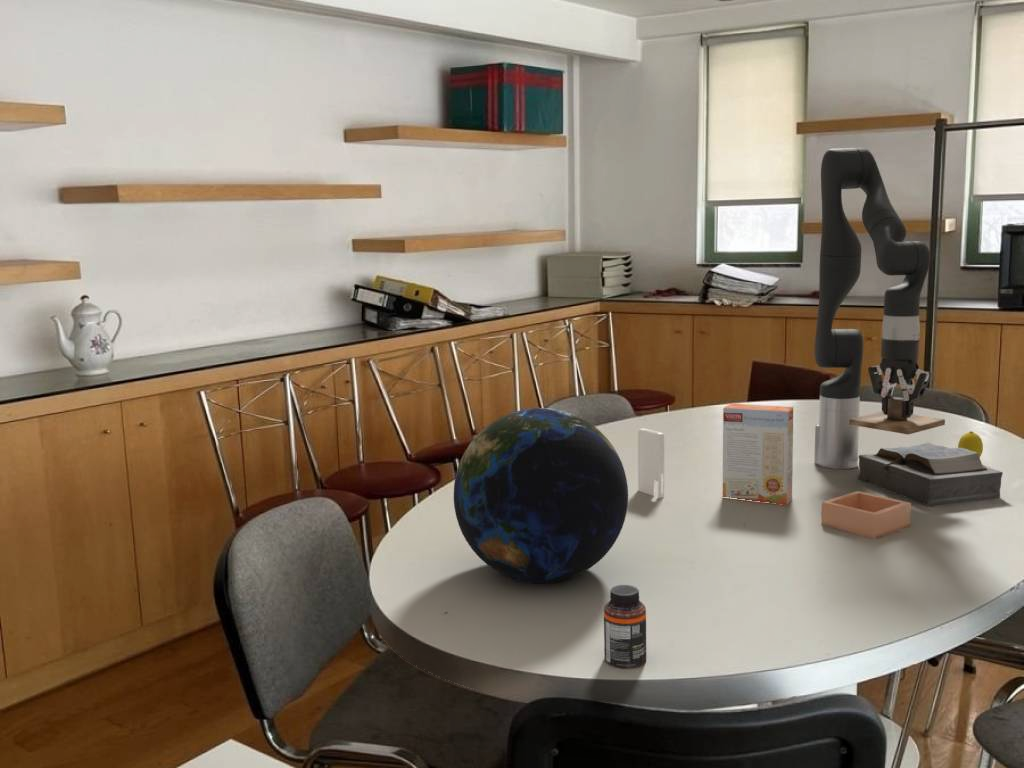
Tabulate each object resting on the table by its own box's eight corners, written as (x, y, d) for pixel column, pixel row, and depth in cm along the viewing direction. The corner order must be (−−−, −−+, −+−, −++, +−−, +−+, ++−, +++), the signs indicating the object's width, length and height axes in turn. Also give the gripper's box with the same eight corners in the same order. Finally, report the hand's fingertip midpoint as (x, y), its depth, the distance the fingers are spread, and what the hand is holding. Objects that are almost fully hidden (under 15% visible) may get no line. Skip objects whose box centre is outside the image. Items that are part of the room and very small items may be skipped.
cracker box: (792, 500, 227) (794, 405, 224) (786, 508, 222) (788, 411, 219) (728, 494, 234) (730, 401, 230) (721, 501, 228) (722, 406, 225)
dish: (821, 526, 209) (822, 502, 208) (856, 514, 217) (857, 490, 216) (874, 540, 200) (875, 515, 199) (909, 527, 207) (910, 502, 206)
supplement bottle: (617, 653, 153) (616, 578, 151) (654, 662, 149) (654, 586, 148) (596, 668, 148) (595, 591, 146) (634, 678, 145) (633, 600, 143)
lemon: (984, 466, 252) (986, 433, 251) (959, 465, 253) (961, 433, 252) (979, 461, 257) (980, 429, 256) (955, 460, 259) (956, 428, 257)
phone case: (637, 494, 235) (637, 428, 232) (642, 493, 236) (642, 427, 233) (659, 501, 229) (659, 434, 226) (664, 500, 230) (664, 433, 227)
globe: (656, 596, 174) (656, 419, 169) (481, 620, 166) (476, 434, 161) (592, 542, 203) (590, 389, 198) (439, 560, 194) (433, 400, 189)
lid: (849, 424, 227) (850, 399, 226) (886, 415, 235) (887, 391, 235) (908, 434, 216) (909, 407, 215) (944, 424, 225) (946, 399, 224)
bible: (906, 510, 219) (908, 464, 218) (849, 478, 246) (850, 437, 244) (1011, 504, 222) (1013, 459, 221) (943, 473, 249) (945, 432, 247)
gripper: (860, 335, 226) (858, 413, 229) (921, 340, 215) (918, 423, 218) (880, 332, 230) (877, 409, 233) (941, 337, 219) (937, 418, 222)
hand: (897, 415), depth 225 cm, fingers closed on lid, 4 cm apart
